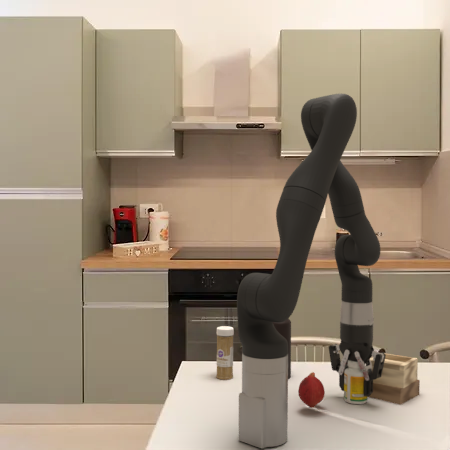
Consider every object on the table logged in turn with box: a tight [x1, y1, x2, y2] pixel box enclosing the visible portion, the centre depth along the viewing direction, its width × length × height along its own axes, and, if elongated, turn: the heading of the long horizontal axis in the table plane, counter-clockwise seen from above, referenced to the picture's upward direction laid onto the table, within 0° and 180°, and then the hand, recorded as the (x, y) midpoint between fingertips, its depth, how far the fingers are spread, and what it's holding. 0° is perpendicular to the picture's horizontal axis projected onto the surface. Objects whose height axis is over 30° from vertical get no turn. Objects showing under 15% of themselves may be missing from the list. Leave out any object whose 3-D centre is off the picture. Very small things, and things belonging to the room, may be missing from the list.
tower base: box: [367, 379, 421, 406], centre depth 141 cm, size 10×10×4 cm
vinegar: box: [273, 317, 292, 380], centre depth 155 cm, size 7×7×20 cm
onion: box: [298, 371, 326, 409], centre depth 132 cm, size 6×6×8 cm
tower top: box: [370, 352, 419, 388], centre depth 141 cm, size 9×9×5 cm
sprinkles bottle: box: [215, 325, 235, 381], centre depth 155 cm, size 5×5×13 cm
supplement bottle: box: [343, 360, 368, 405], centre depth 136 cm, size 5×5×10 cm
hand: (355, 392), depth 136 cm, fingers closed on supplement bottle, 5 cm apart
